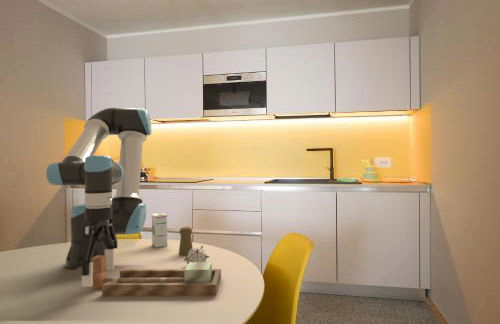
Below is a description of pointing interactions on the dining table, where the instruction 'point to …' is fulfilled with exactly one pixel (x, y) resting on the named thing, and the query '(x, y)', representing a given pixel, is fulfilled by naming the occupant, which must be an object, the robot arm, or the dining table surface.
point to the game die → (196, 255)
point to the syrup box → (159, 229)
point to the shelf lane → (160, 284)
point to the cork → (185, 240)
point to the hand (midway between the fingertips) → (99, 277)
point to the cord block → (193, 274)
